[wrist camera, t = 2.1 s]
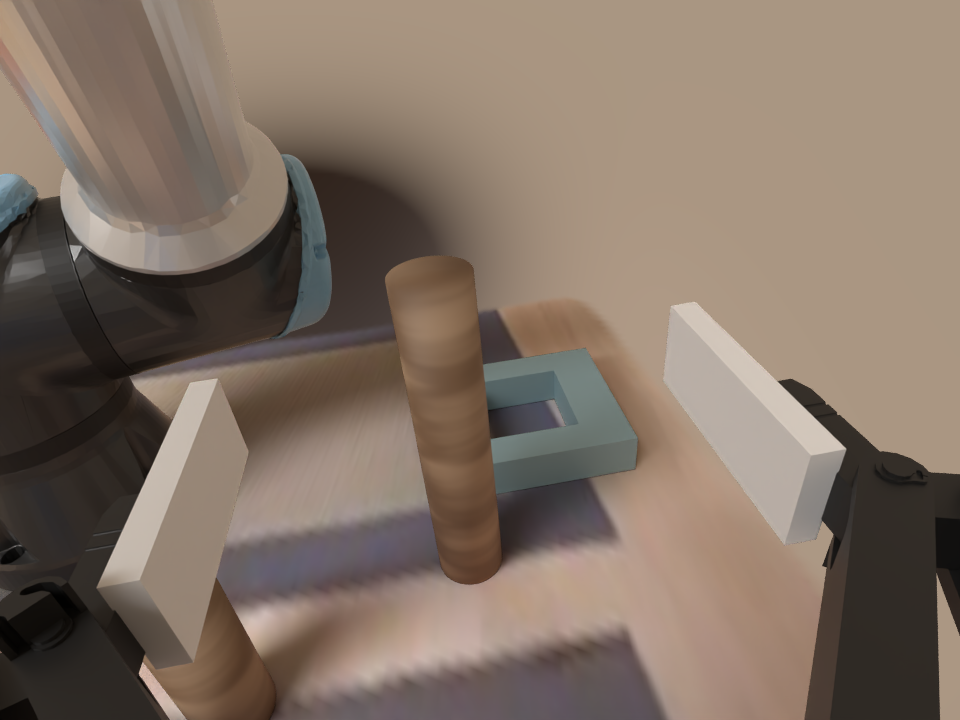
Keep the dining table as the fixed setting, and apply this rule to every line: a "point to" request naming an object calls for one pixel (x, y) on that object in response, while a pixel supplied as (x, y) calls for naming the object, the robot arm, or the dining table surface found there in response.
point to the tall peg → (449, 409)
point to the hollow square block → (564, 450)
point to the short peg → (220, 671)
